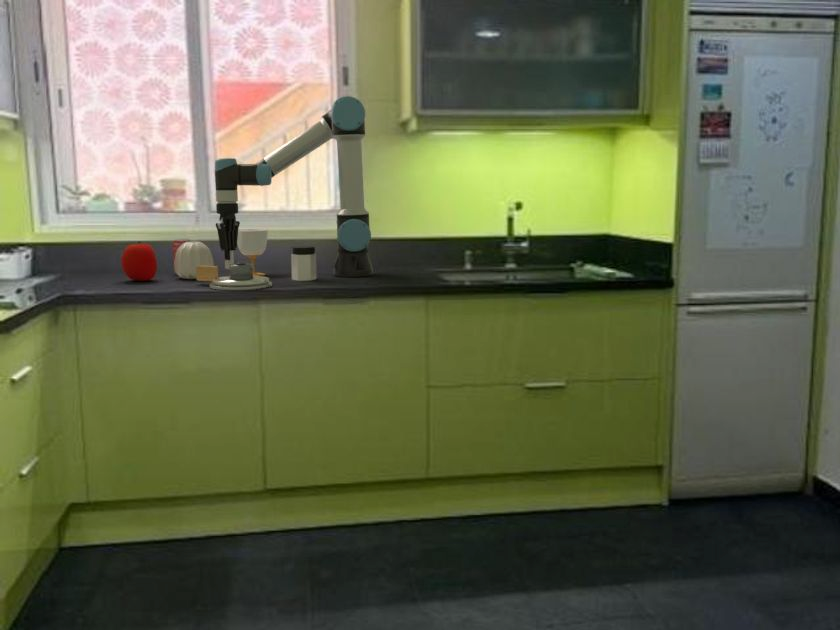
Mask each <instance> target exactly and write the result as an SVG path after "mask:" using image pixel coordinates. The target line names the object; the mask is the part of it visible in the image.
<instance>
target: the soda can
mask: <svg viewBox="0 0 840 630" xmlns="http://www.w3.org/2000/svg"><path fill="white" fill-rule="evenodd" d="M185 242H192V241H191V239H188V238H185V239H182V238H181V239H179V238H178V239H174V240H173V243H172V254H173V264H174V263H175V255H176V252H177V249H178V248H179V247H180V246H181V245H182V244H184V243H185ZM173 269H174V273H175V274H176V275H177V273H176V272H175V268H174V267H173Z"/></svg>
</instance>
